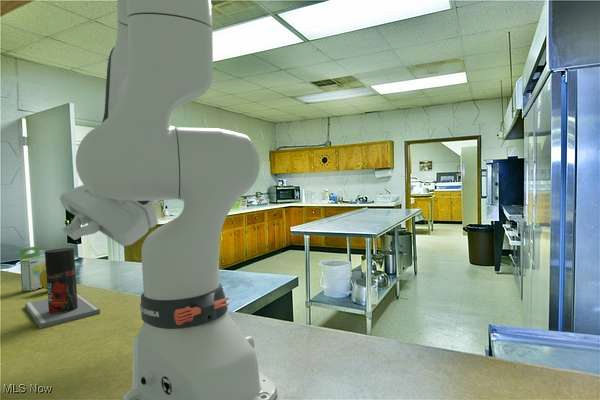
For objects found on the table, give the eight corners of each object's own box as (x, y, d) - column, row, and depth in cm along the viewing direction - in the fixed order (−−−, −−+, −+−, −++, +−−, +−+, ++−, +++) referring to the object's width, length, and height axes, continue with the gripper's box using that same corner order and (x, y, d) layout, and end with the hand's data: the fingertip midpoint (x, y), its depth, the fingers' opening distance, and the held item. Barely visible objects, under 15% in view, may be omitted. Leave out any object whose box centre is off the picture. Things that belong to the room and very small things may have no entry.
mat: (100, 313, 85) (99, 308, 85) (40, 328, 76) (39, 323, 76) (77, 295, 100) (77, 292, 100) (25, 307, 92) (24, 303, 92)
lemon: (43, 290, 108) (41, 265, 108) (64, 287, 110) (62, 262, 110) (38, 295, 103) (36, 268, 103) (60, 292, 105) (58, 266, 105)
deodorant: (83, 305, 88) (79, 247, 87) (64, 314, 82) (60, 252, 82) (62, 305, 89) (58, 248, 88) (42, 314, 83) (38, 252, 82)
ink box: (31, 292, 107) (28, 249, 106) (21, 291, 107) (18, 249, 107) (52, 285, 113) (49, 245, 113) (42, 285, 114) (39, 245, 114)
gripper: (93, 170, 79) (30, 201, 69) (158, 206, 72) (98, 246, 62) (100, 191, 83) (41, 223, 73) (162, 227, 76) (107, 268, 67)
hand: (68, 234), depth 68 cm, fingers closed
